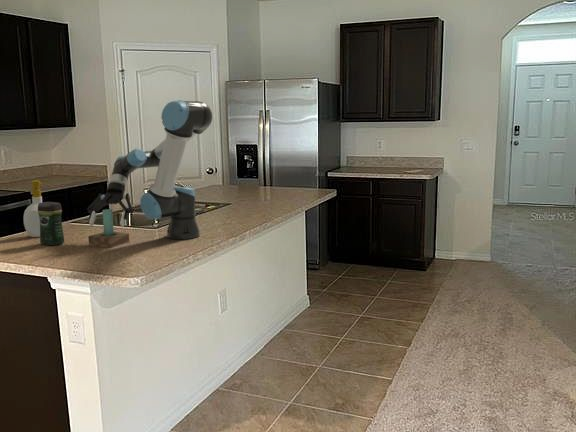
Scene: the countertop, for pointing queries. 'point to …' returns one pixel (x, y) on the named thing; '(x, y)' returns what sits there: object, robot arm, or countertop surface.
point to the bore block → (108, 239)
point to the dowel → (108, 222)
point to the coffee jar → (50, 223)
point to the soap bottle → (33, 212)
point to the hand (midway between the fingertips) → (106, 225)
